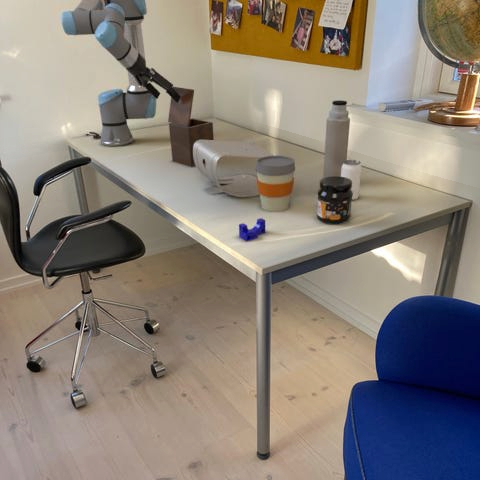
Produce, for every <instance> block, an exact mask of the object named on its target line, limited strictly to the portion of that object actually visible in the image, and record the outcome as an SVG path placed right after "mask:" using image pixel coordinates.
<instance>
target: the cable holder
mask: <svg viewBox="0 0 480 480" xmlns="http://www.w3.org/2000/svg"><path fill="white" fill-rule="evenodd" d="M255 223H256V224H255V225H254V226H253V227H252V228H248V224H246V223H244V222H242V223H240V224H238V231H239V232H238V237H239V238H240V239H241V240H243V241H245V242H249V241H252V240H256V239H258V236H259V235H263V234H266V219H264V218H262V217H260V218H257V219H256V222H255Z"/></svg>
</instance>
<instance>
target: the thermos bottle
mask: <svg viewBox="0 0 480 480" xmlns="http://www.w3.org/2000/svg"><path fill="white" fill-rule="evenodd" d="M331 104H332V105H331V110H330V111H329V113H328V117H327V118H326V123H325V124H326V125H325V126H326V127H325V140H324V142H325V143H324V160H323V175H322V176H323V177H322V179H323V178H325V177H332V176H339V177H341V168H342V165H343V162H344V161H346V160H348V150H349V138H350V137H349V134H350V124H351V118H350V117H349V115H350V114H349V113H350V112H349V110H347V104H348V101H347V100H341V99H340V100H338V99H337V100H332V103H331Z"/></svg>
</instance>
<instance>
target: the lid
mask: <svg viewBox="0 0 480 480" xmlns="http://www.w3.org/2000/svg"><path fill="white" fill-rule="evenodd" d="M172 88H173V89H174V90H175V91H176V92H177V93H178V94H179V95H180V96H181V98H180V100H179V101H178V103H176V102H175V101H174V99H173V98H172V97H171V96H170V103H169V104H170V105H169V112H168V118H167V123H168V124H169V123H174V124H178V125H183V126H187V127H189V124H190V119H191V116H192V111H193V102H194V96H195V89H192V88H185V87H179V86H173V87H172Z"/></svg>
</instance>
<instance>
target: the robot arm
mask: <svg viewBox="0 0 480 480" xmlns="http://www.w3.org/2000/svg"><path fill="white" fill-rule="evenodd" d="M147 13H148V9H147V3H146V0H80V3H78V5H77V6H76V7H75V8H74V10H68V11H67V10H66V11H63V12H62V13H61V27H62V30H63V31H64V33H65V35H68V36H75V37H76V36H86V35H94V37H95V39H96V40H97V42H98V43H99V44H100V45H101V47H102V48H104V49H105V50H106V51H107V52H108V53H109V54H110V55H111V56H113V58H114V59H115V60H116V61H117V62H118V63H119V64H120V65H121V66H122V67H123V68H124V69H125V70H126V71H127V78H128V86H127V88H126V92H124V90H123V89H122V88H114V89H108V90H105V91H103V92H102V91H101V92H100V93H99V94H98V96H97V100H98V108H99V114H100V119H101V125H102V126H101V127H102V128H101V134H99V133H97V132H95V131H89V133H90V134H87V133H86V134H85V136H89V135H93V137H92V138H93V139H100V143H101V145H103V146H105V147H122V146H127V145H130V144H132V143H134V137H133V134H132V133H131V130H130V127H129V126H128V120H142V119H143V120H147V119H153V118H155V117H156V113H157V100H158V99H159V97H160V95H161V92H160V91H159V90H158V89H157V87H155V86H154V85H153V84H152V83H154V84H156V85H157V86H158V87H160V88H162V89H163V90H165V93H166V94H168V95H169V96H170V98H171V97H172V98H173V99H174V101H175V102H176V103H178V101H179V100H180V98H181V96H180V95H179V94H178V93H177V92H176V91H175V90H174V89H173V88H172V87H174V84H173V83H172V82H171V81H170V80H168V79H166V78H165V77H164V76H163V75H161V74H160V73H159V72H157V71H156V69H155V68H153V67H151V68H149V67H148V66H147V61H146V53H145V43H144V37H143V29H142V23H143V22H144V20H145V16H146V15H147ZM100 135H101V136H100Z"/></svg>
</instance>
